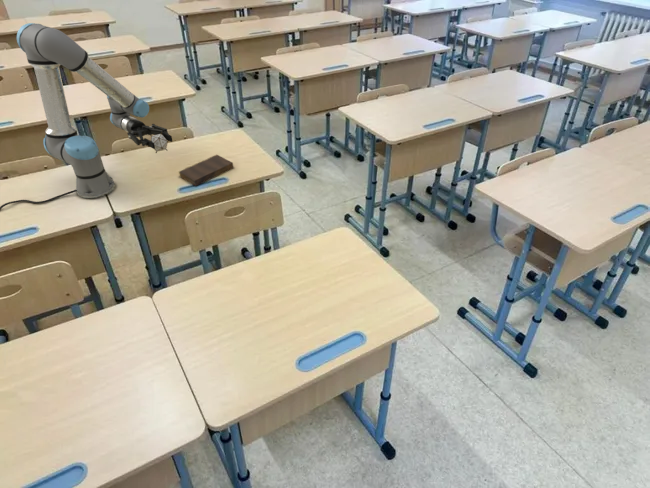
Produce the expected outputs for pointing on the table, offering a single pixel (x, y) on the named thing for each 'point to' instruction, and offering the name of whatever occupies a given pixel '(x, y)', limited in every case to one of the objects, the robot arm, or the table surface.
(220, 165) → the walnut board
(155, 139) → the grey spiked polyhedron
